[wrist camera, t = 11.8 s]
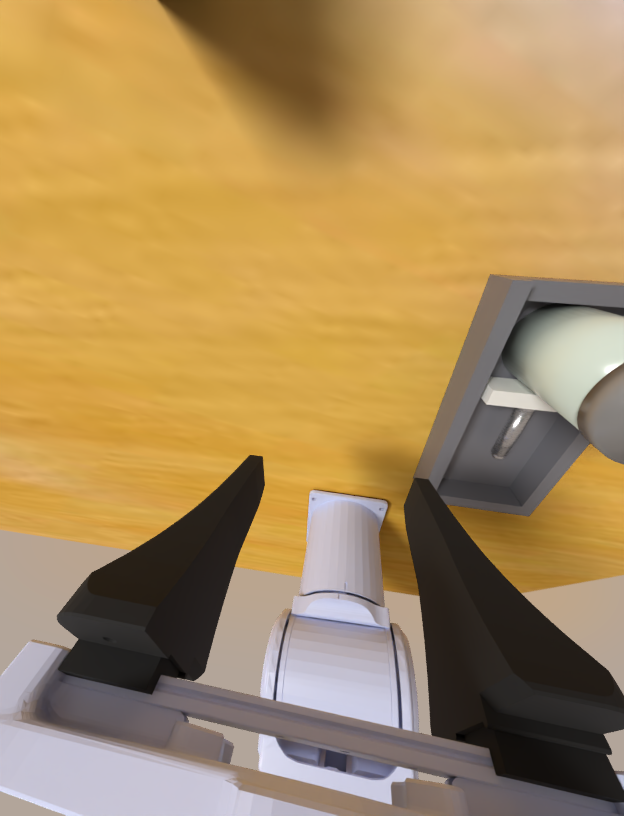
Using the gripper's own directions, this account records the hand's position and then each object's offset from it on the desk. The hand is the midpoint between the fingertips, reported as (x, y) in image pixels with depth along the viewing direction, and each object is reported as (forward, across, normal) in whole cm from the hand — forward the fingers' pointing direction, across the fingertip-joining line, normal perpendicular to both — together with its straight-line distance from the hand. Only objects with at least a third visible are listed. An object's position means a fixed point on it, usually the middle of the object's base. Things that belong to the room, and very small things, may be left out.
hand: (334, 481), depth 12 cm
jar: (+9, -12, -5) cm, 16 cm away
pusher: (+8, -12, 0) cm, 15 cm away
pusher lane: (+9, -12, 0) cm, 15 cm away
